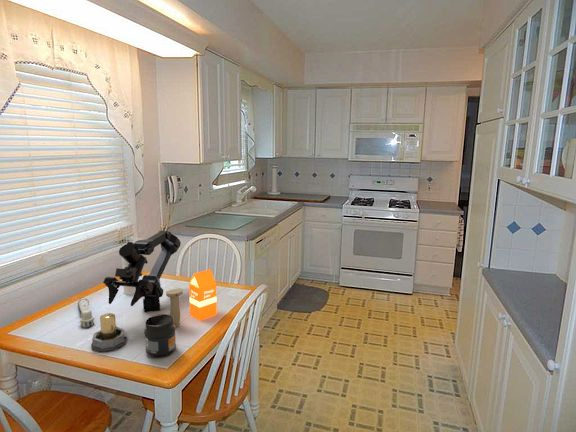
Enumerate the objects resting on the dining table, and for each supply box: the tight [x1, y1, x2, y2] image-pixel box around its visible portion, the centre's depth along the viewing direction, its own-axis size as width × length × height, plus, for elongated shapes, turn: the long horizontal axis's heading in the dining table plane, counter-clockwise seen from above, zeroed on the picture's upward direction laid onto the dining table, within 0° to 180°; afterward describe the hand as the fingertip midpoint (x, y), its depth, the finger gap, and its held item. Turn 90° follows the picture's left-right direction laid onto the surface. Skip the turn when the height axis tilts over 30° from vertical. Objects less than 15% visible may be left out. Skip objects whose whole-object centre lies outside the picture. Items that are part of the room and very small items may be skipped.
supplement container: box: [143, 313, 177, 359], centre depth 134 cm, size 10×10×12 cm
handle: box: [165, 288, 184, 328], centre depth 153 cm, size 5×6×15 cm
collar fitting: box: [90, 326, 128, 353], centre depth 139 cm, size 12×12×4 cm
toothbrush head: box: [77, 297, 95, 328], centre depth 161 cm, size 5×7×25 cm
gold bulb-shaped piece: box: [99, 312, 117, 340], centre depth 139 cm, size 6×6×10 cm
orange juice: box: [188, 269, 218, 322], centre depth 163 cm, size 8×9×20 cm
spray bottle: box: [121, 256, 136, 296], centre depth 185 cm, size 7×7×25 cm
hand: (120, 304), depth 145 cm, fingers open, 9 cm apart
